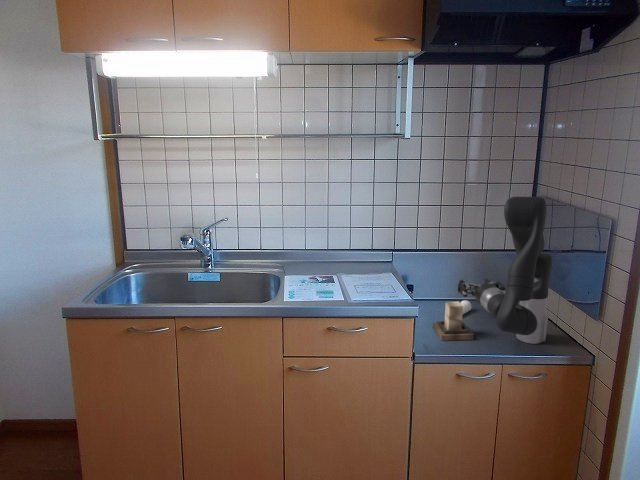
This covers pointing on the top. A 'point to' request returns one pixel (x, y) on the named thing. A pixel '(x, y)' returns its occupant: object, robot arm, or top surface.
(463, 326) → the walnut base
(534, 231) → the robot arm
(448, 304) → the maple pillar
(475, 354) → the top surface
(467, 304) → the unicorn horn
